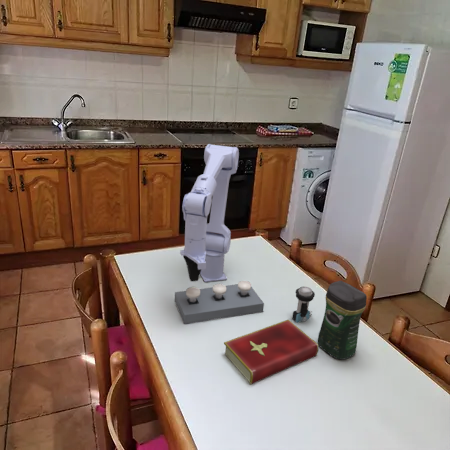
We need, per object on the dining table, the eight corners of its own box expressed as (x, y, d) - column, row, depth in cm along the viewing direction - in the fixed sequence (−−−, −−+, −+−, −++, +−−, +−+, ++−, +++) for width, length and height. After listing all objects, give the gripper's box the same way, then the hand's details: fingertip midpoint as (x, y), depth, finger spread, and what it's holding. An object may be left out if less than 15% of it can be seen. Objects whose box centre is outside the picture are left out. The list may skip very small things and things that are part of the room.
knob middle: (210, 294, 121) (211, 284, 120) (223, 292, 123) (223, 283, 122) (214, 301, 118) (215, 291, 117) (227, 299, 119) (228, 290, 118)
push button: (305, 311, 122) (310, 282, 119) (317, 320, 118) (322, 291, 114) (287, 316, 119) (292, 287, 115) (299, 326, 115) (304, 296, 111)
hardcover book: (316, 357, 104) (319, 344, 103) (250, 386, 93) (252, 372, 92) (286, 331, 113) (288, 318, 112) (222, 355, 103) (223, 341, 101)
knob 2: (235, 290, 124) (236, 281, 123) (247, 289, 125) (248, 280, 124) (240, 297, 121) (241, 288, 119) (252, 296, 122) (253, 286, 121)
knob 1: (184, 297, 119) (184, 288, 118) (197, 295, 120) (198, 286, 119) (187, 305, 115) (188, 295, 114) (201, 303, 117) (201, 293, 115)
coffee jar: (360, 354, 106) (374, 293, 99) (339, 364, 101) (353, 301, 94) (332, 333, 113) (344, 275, 106) (311, 342, 109) (322, 282, 102)
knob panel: (174, 300, 123) (174, 292, 122) (247, 290, 131) (248, 282, 130) (184, 324, 112) (184, 315, 111) (263, 311, 120) (264, 303, 119)
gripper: (174, 226, 115) (174, 269, 120) (188, 249, 102) (186, 295, 107) (198, 225, 117) (197, 266, 122) (214, 246, 105) (211, 291, 110)
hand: (193, 279), depth 115 cm, fingers closed
